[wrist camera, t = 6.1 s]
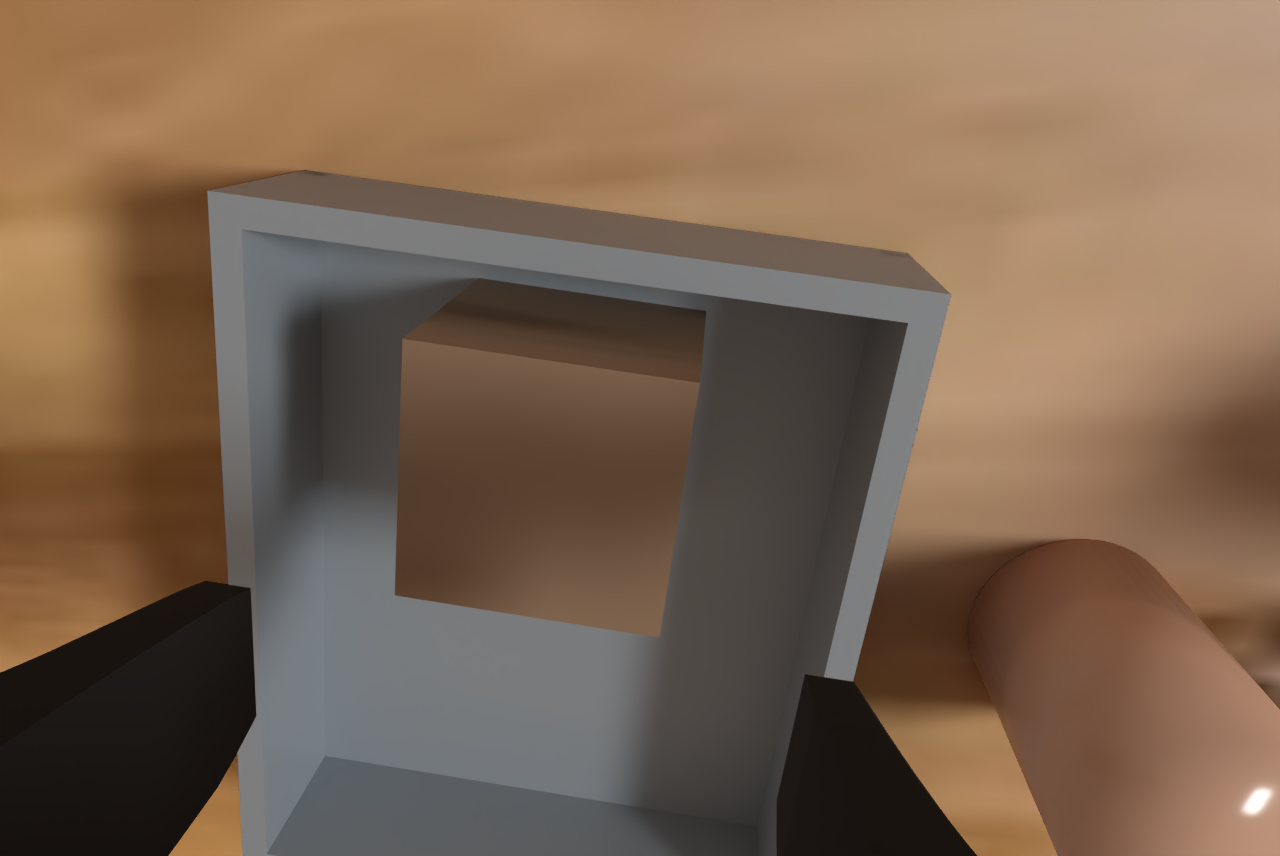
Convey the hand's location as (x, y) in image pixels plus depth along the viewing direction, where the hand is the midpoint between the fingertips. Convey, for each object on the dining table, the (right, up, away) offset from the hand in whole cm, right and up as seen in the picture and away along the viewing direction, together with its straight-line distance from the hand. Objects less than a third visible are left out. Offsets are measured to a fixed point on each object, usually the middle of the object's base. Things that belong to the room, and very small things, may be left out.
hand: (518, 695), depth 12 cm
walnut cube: (0, +4, +9) cm, 10 cm away
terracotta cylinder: (+12, -1, +11) cm, 16 cm away
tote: (0, +1, +11) cm, 11 cm away
